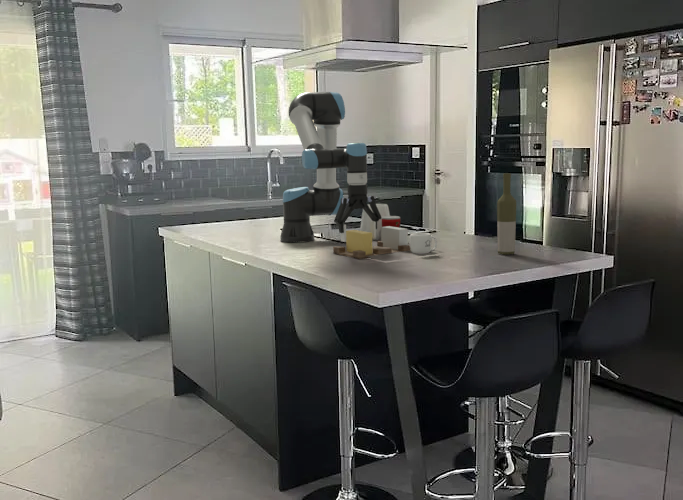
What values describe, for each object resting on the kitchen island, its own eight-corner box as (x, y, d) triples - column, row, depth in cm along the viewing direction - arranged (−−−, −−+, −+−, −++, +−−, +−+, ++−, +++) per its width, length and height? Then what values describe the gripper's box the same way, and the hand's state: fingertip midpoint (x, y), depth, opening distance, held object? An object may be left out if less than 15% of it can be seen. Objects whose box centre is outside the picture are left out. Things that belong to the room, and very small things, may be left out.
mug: (418, 256, 256) (417, 235, 255) (405, 253, 263) (404, 233, 262) (443, 253, 262) (443, 233, 261) (430, 250, 269) (430, 230, 268)
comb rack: (333, 253, 269) (333, 246, 269) (383, 247, 282) (383, 240, 281) (358, 259, 254) (358, 252, 254) (410, 252, 267) (410, 245, 266)
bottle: (519, 254, 255) (521, 173, 250) (505, 256, 252) (506, 174, 247) (506, 252, 261) (507, 172, 257) (492, 253, 258) (493, 173, 253)
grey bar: (381, 246, 277) (381, 226, 276) (389, 245, 279) (389, 226, 278) (399, 250, 267) (399, 229, 266) (407, 249, 269) (407, 228, 268)
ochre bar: (372, 253, 261) (372, 232, 259) (363, 254, 259) (363, 233, 257) (355, 250, 271) (354, 229, 269) (346, 251, 269) (345, 230, 267)
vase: (387, 241, 297) (386, 206, 295) (356, 240, 302) (355, 206, 300) (395, 236, 311) (395, 203, 308) (365, 236, 315) (365, 203, 313)
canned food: (399, 243, 289) (399, 217, 287) (380, 243, 291) (380, 218, 289) (401, 241, 296) (401, 215, 295) (383, 241, 298) (382, 215, 296)
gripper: (334, 186, 251) (336, 244, 254) (389, 182, 264) (390, 237, 267) (323, 185, 257) (325, 241, 260) (378, 182, 270) (379, 235, 273)
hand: (358, 239), depth 264 cm, fingers open, 13 cm apart
